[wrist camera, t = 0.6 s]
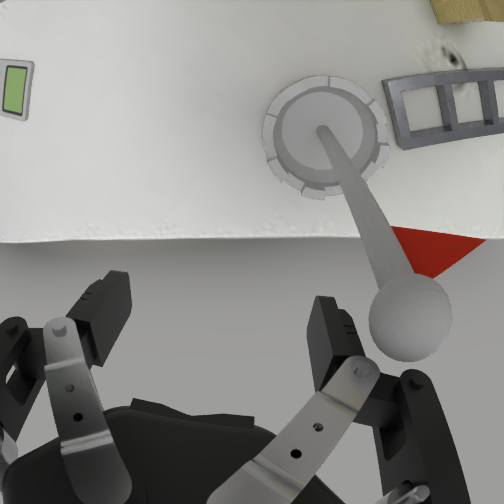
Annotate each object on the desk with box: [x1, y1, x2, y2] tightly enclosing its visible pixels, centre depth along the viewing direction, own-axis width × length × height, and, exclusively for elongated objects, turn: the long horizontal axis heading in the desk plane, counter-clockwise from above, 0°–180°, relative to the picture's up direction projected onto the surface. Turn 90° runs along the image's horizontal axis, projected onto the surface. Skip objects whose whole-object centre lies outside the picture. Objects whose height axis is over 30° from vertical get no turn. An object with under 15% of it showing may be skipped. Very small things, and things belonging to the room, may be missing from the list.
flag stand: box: [262, 76, 485, 362], centre depth 20 cm, size 13×13×30 cm
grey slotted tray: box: [382, 68, 504, 151], centre depth 26 cm, size 8×21×2 cm, turn 111°
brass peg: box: [430, 0, 504, 24], centre depth 15 cm, size 5×5×12 cm
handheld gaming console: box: [0, 59, 35, 121], centre depth 32 cm, size 10×2×15 cm
